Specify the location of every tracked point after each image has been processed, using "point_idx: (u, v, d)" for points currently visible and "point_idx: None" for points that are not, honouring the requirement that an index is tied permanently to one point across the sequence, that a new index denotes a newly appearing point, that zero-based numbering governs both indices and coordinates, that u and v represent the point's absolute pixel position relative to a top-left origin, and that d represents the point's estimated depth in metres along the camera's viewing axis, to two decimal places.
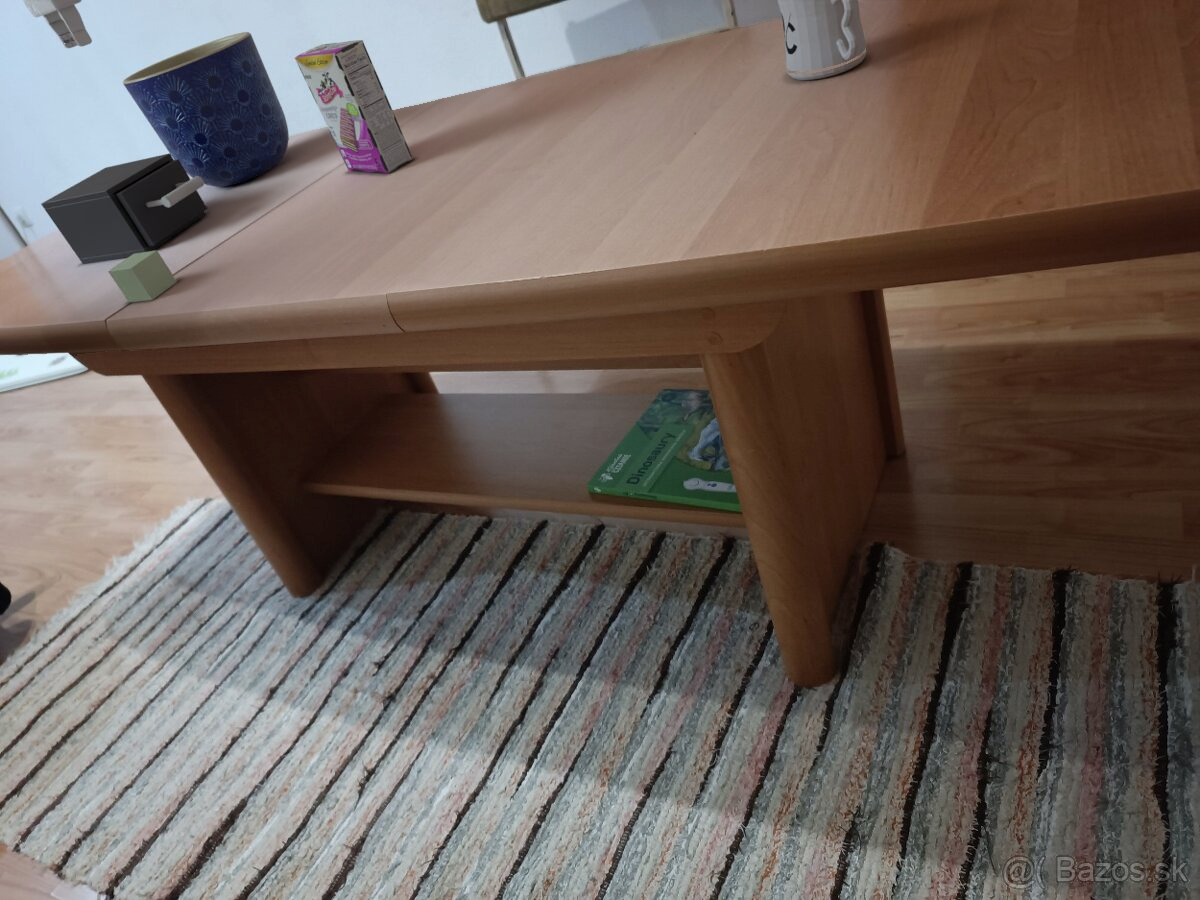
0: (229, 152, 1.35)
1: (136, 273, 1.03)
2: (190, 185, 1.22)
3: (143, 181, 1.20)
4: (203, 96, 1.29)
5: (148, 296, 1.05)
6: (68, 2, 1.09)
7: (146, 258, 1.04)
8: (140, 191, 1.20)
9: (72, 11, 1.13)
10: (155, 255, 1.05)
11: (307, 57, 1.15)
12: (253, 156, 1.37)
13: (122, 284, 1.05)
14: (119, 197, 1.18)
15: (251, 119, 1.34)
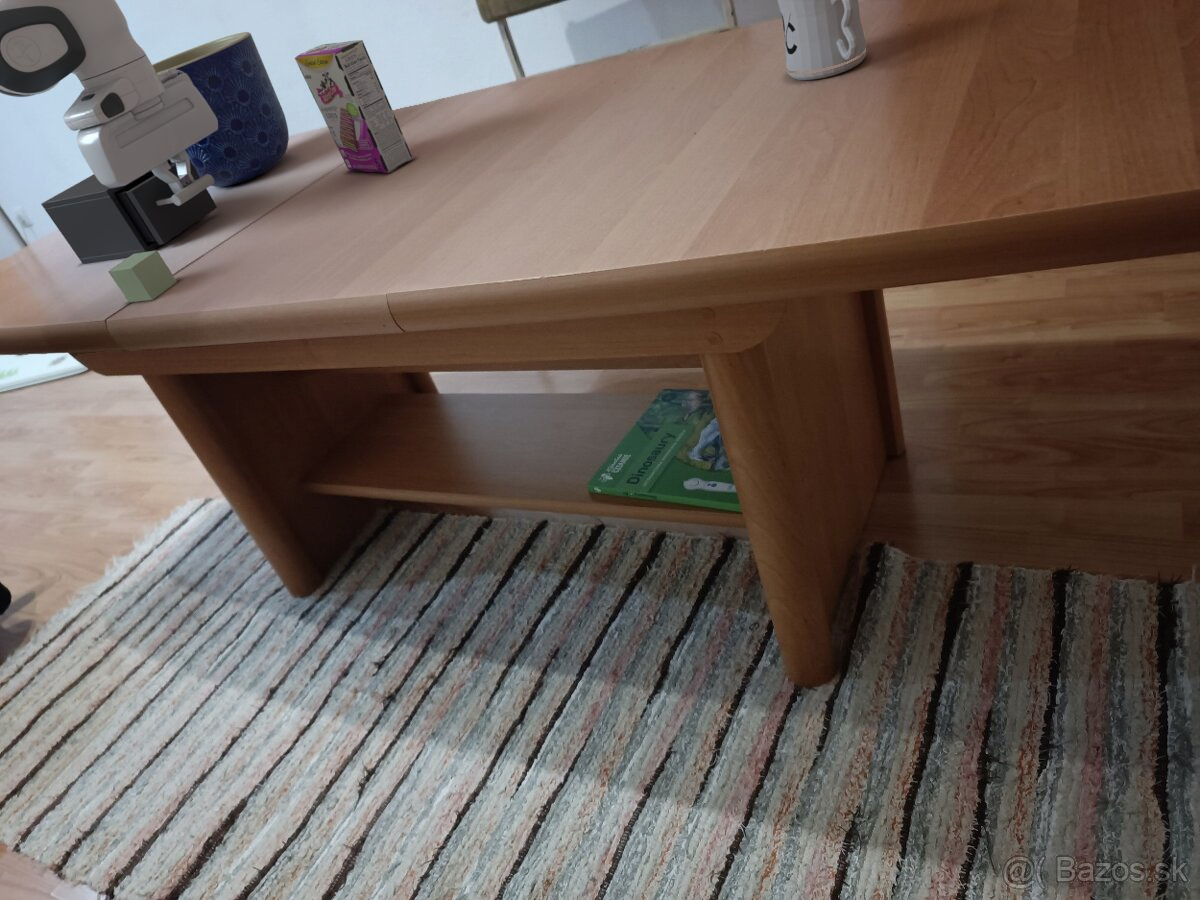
0: (229, 152, 1.35)
1: (136, 273, 1.03)
2: (201, 183, 1.21)
3: (153, 179, 1.19)
4: (203, 96, 1.29)
5: (148, 296, 1.05)
6: (112, 185, 1.11)
7: (146, 258, 1.04)
8: (150, 189, 1.19)
9: (158, 169, 1.17)
10: (155, 255, 1.05)
11: (307, 57, 1.15)
12: (253, 156, 1.37)
13: (122, 284, 1.05)
14: (129, 195, 1.17)
15: (251, 119, 1.34)
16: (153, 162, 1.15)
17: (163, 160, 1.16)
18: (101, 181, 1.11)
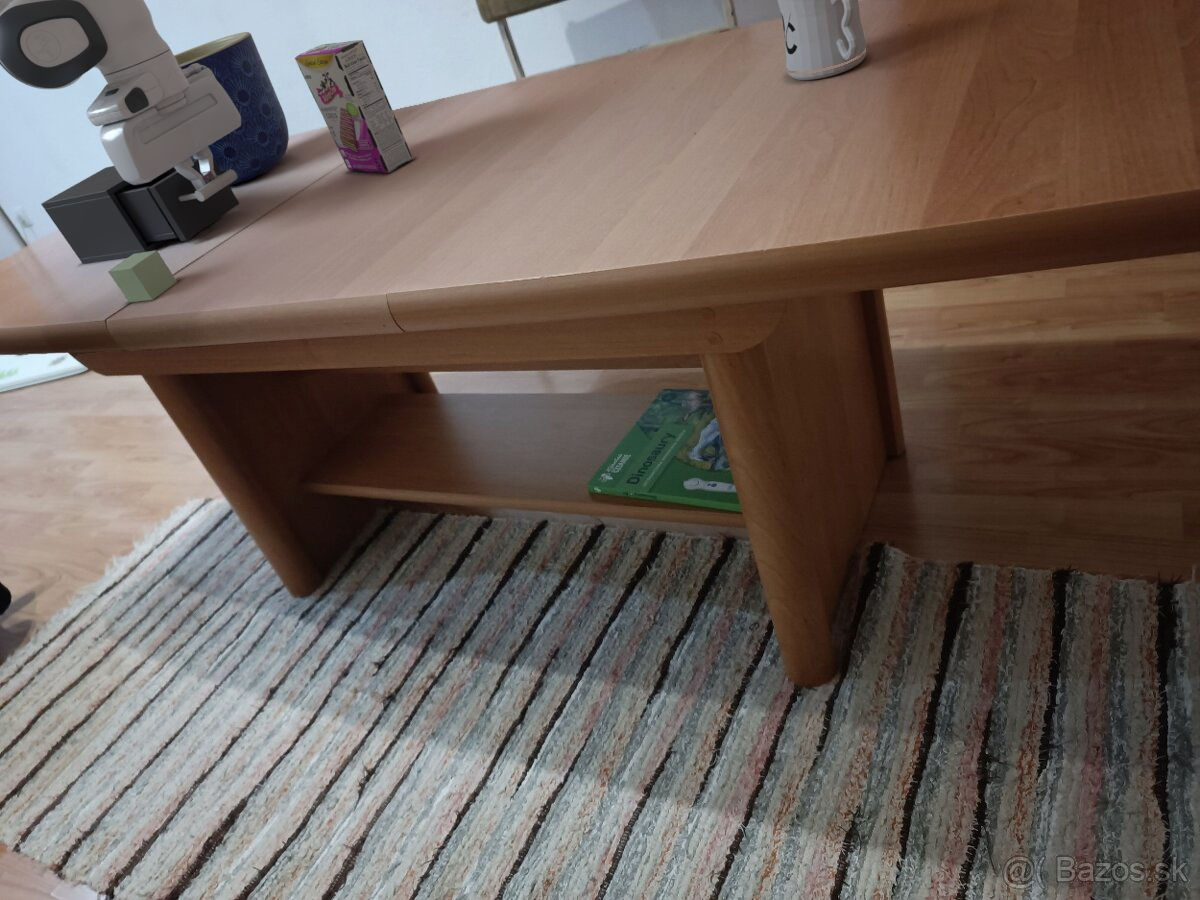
0: (229, 152, 1.35)
1: (136, 273, 1.03)
2: (224, 178, 1.19)
3: (176, 174, 1.17)
4: None
5: (148, 296, 1.05)
6: (135, 182, 1.09)
7: (146, 258, 1.04)
8: (173, 184, 1.17)
9: (182, 166, 1.15)
10: (155, 255, 1.05)
11: (307, 57, 1.15)
12: (253, 156, 1.37)
13: (122, 284, 1.05)
14: (152, 191, 1.15)
15: (251, 119, 1.34)
16: (176, 158, 1.13)
17: (186, 156, 1.14)
18: (124, 178, 1.09)
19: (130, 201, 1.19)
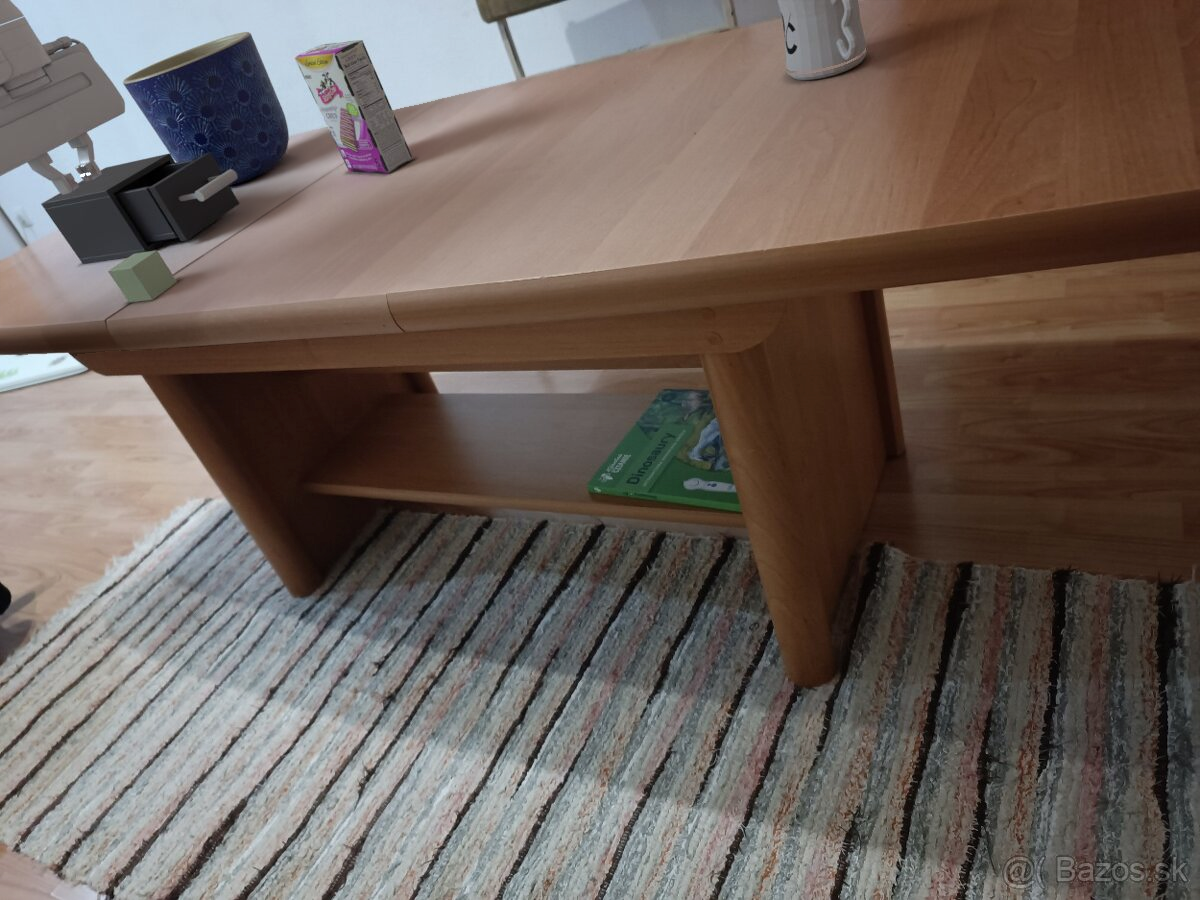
0: (229, 152, 1.35)
1: (136, 273, 1.03)
2: (224, 178, 1.19)
3: (176, 174, 1.17)
4: (203, 96, 1.29)
5: (148, 296, 1.05)
6: None
7: (146, 258, 1.04)
8: (173, 184, 1.17)
9: (37, 163, 0.95)
10: (155, 255, 1.05)
11: (307, 57, 1.15)
12: (253, 156, 1.37)
13: (122, 284, 1.05)
14: (152, 191, 1.15)
15: (251, 119, 1.34)
16: (35, 150, 0.93)
17: (49, 148, 0.94)
18: None
19: (130, 201, 1.19)
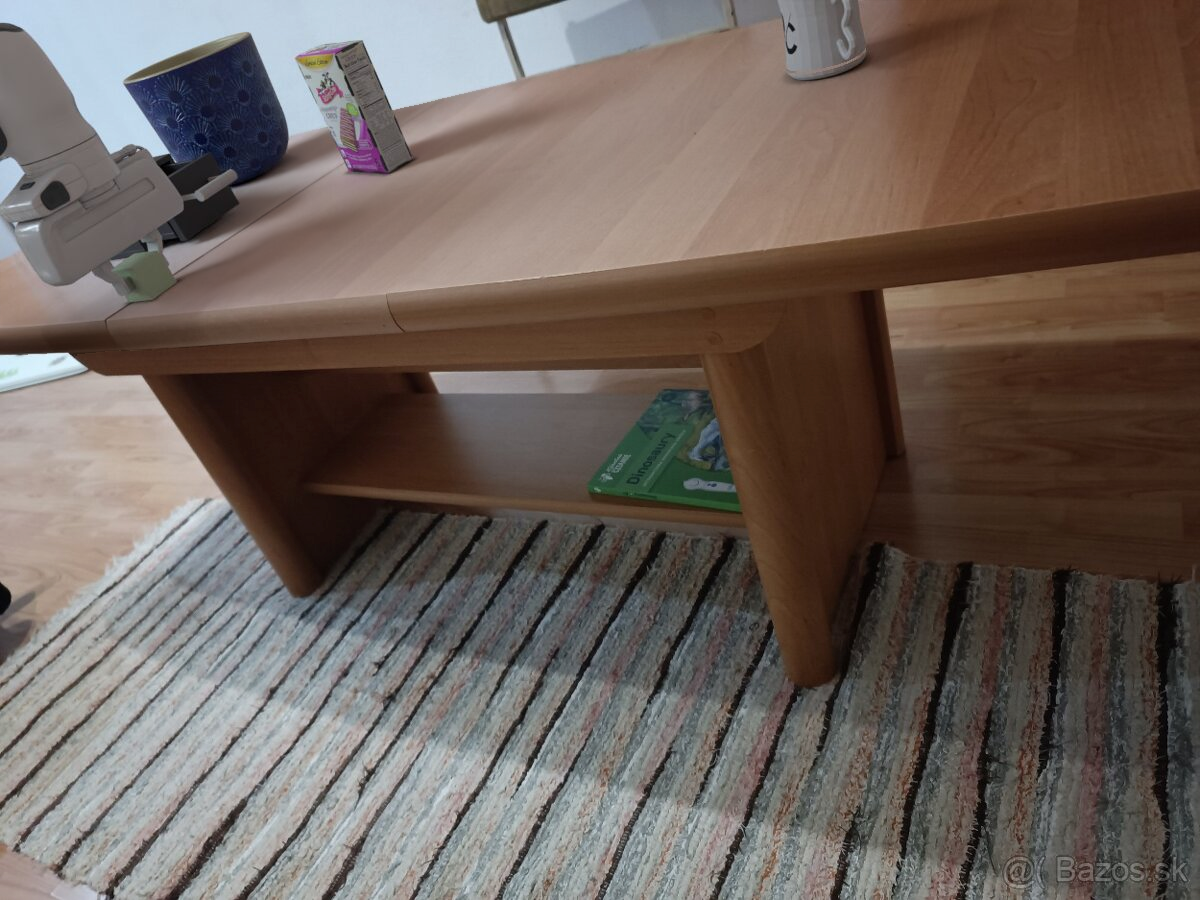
0: (229, 152, 1.35)
1: (136, 273, 1.03)
2: (224, 178, 1.19)
3: (176, 174, 1.17)
4: (203, 96, 1.29)
5: (148, 296, 1.05)
6: (56, 284, 0.97)
7: (146, 258, 1.04)
8: (173, 184, 1.17)
9: (99, 270, 1.01)
10: (155, 255, 1.05)
11: (307, 57, 1.15)
12: (253, 156, 1.37)
13: None
14: None
15: (251, 119, 1.34)
16: (105, 255, 1.00)
17: (117, 251, 1.01)
18: (43, 279, 0.97)
19: None
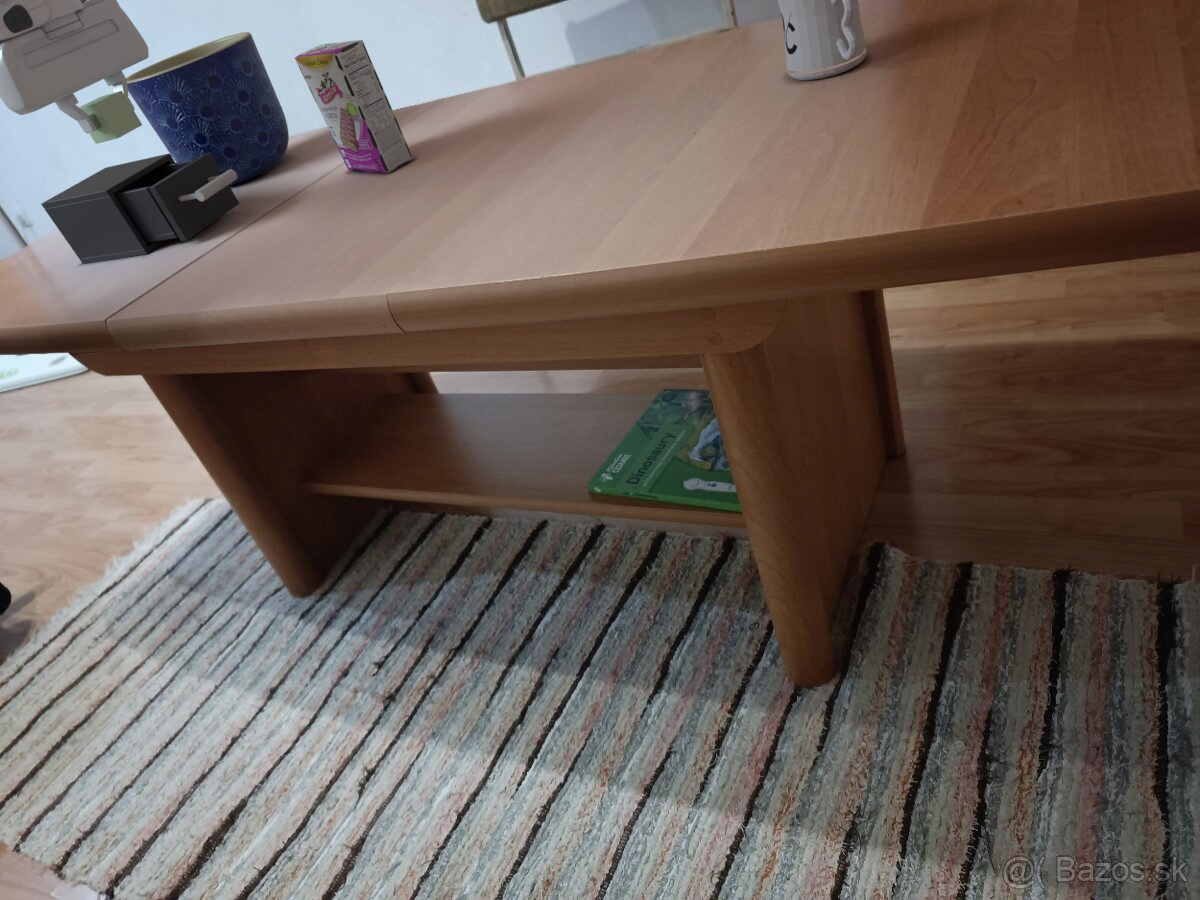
0: (229, 152, 1.35)
1: (101, 110, 1.07)
2: (224, 178, 1.19)
3: (176, 174, 1.17)
4: (203, 96, 1.29)
5: (113, 134, 1.08)
6: (21, 111, 1.00)
7: (111, 97, 1.08)
8: (173, 184, 1.17)
9: (64, 103, 1.04)
10: (120, 95, 1.09)
11: (307, 57, 1.15)
12: (253, 156, 1.37)
13: None
14: (152, 191, 1.15)
15: (251, 119, 1.34)
16: (69, 87, 1.03)
17: (82, 86, 1.05)
18: (9, 106, 1.00)
19: (130, 201, 1.19)
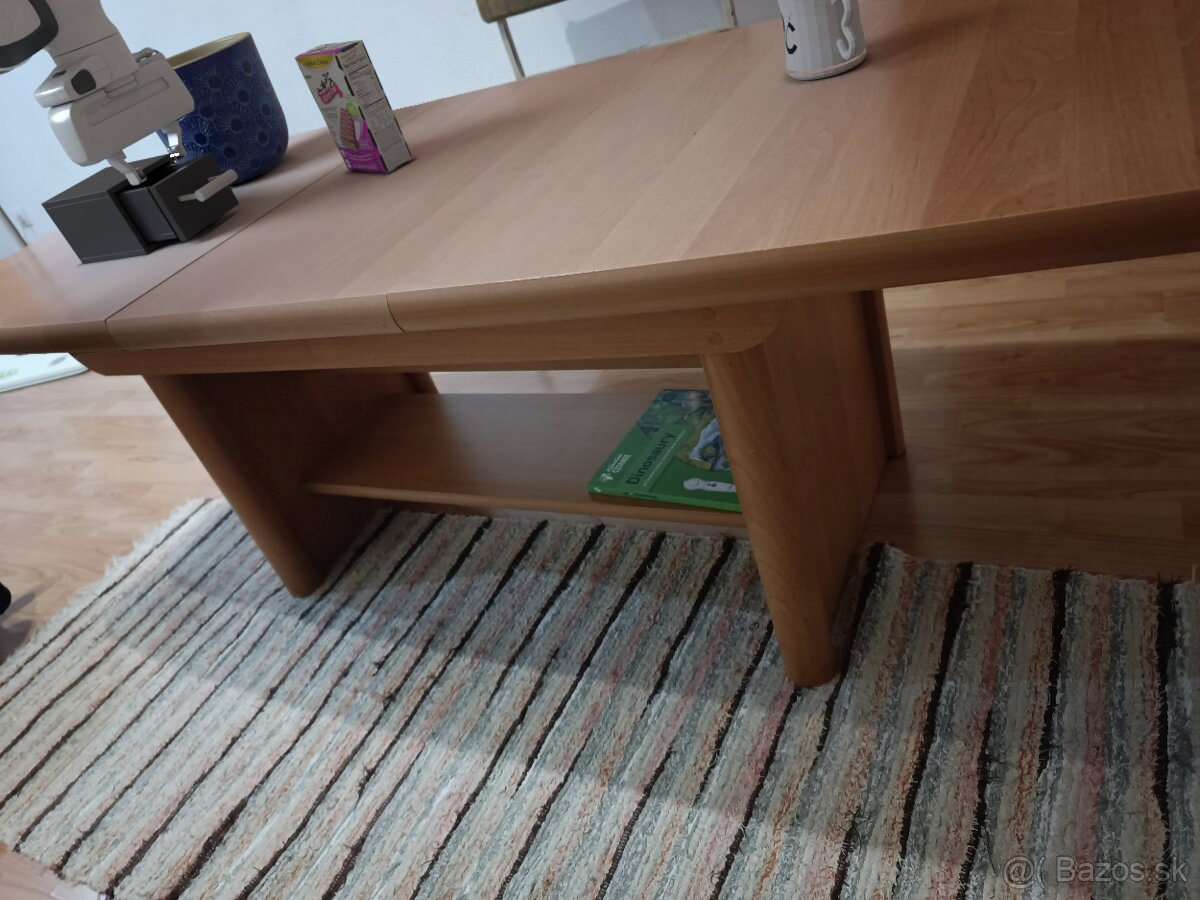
0: (229, 152, 1.35)
1: None
2: (224, 178, 1.19)
3: (176, 174, 1.17)
4: (203, 96, 1.29)
5: None
6: (84, 164, 1.10)
7: None
8: (173, 184, 1.17)
9: (114, 159, 1.13)
10: None
11: (307, 57, 1.15)
12: (253, 156, 1.37)
13: None
14: (152, 191, 1.15)
15: (251, 119, 1.34)
16: (126, 141, 1.13)
17: (137, 139, 1.15)
18: (72, 159, 1.10)
19: (130, 201, 1.19)
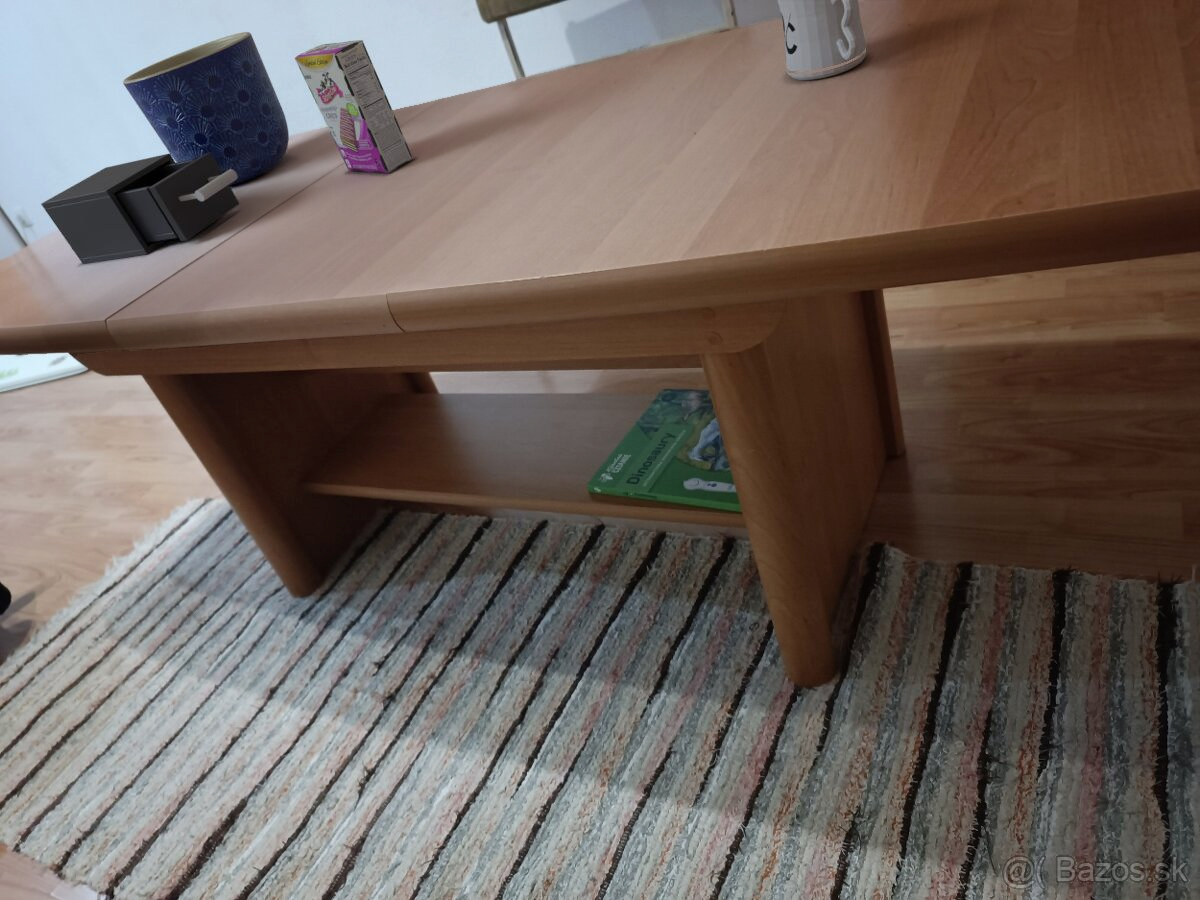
0: (229, 152, 1.35)
1: None
2: (224, 178, 1.19)
3: (176, 174, 1.17)
4: (203, 96, 1.29)
5: None
6: None
7: None
8: (173, 184, 1.17)
9: None
10: None
11: (307, 57, 1.15)
12: (253, 156, 1.37)
13: None
14: (152, 191, 1.15)
15: (251, 119, 1.34)
16: None
17: None
18: None
19: (130, 201, 1.19)
